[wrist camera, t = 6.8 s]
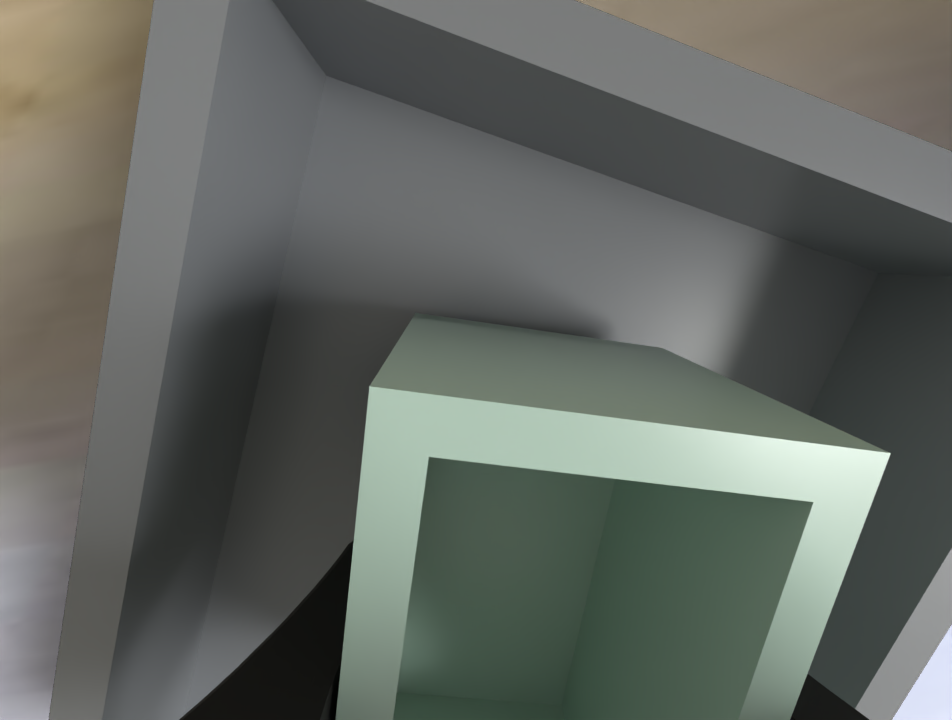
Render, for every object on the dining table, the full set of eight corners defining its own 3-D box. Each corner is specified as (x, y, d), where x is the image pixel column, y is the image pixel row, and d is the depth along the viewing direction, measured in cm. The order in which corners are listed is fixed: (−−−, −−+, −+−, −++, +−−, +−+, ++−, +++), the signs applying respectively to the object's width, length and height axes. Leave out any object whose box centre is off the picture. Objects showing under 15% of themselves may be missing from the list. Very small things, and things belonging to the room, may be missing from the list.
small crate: (662, 348, 9) (891, 453, 4) (575, 702, 11) (667, 1046, 6) (415, 313, 9) (369, 386, 4) (370, 687, 11) (302, 1039, 6)
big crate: (893, 249, 11) (1188, 245, 7) (617, 806, 15) (688, 1045, 10) (307, 34, 9) (178, -159, 5) (162, 720, 13) (13, 958, 9)
